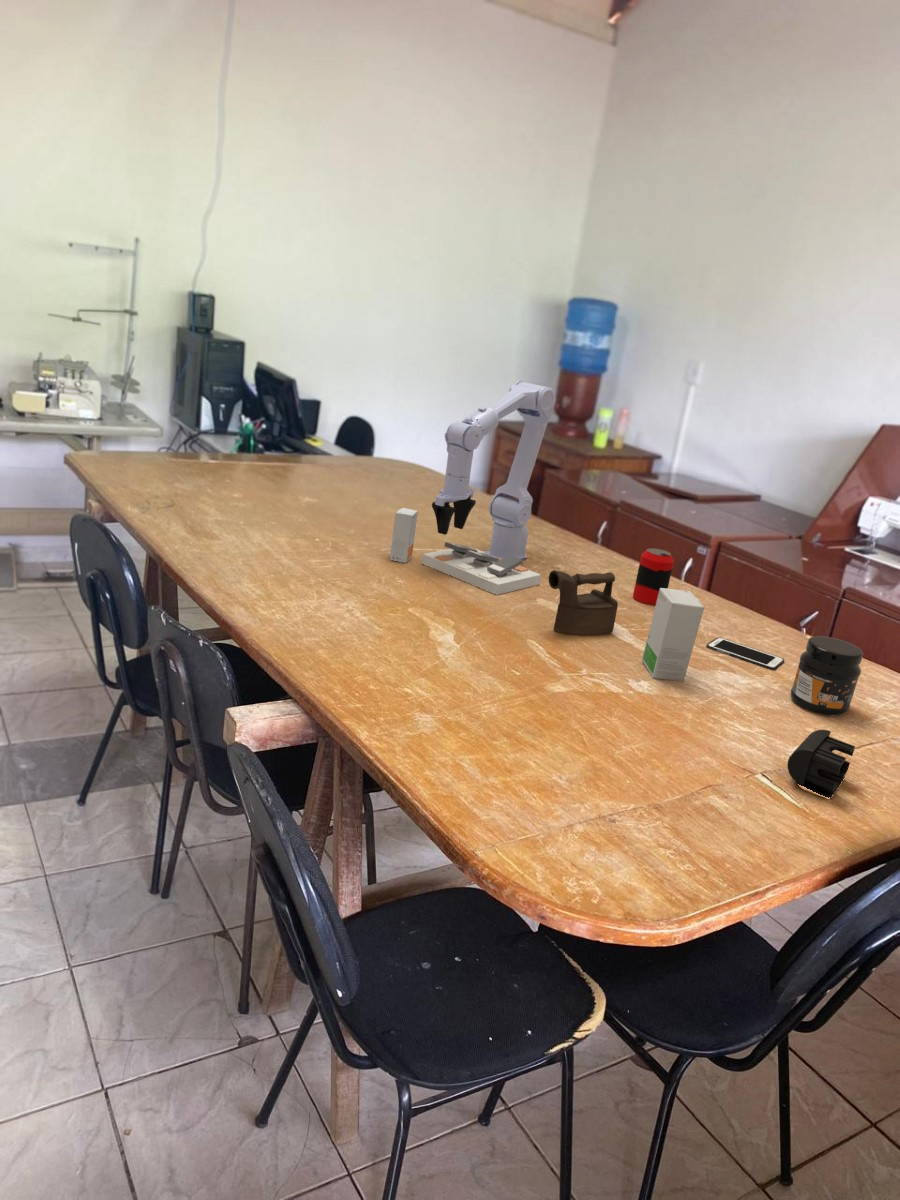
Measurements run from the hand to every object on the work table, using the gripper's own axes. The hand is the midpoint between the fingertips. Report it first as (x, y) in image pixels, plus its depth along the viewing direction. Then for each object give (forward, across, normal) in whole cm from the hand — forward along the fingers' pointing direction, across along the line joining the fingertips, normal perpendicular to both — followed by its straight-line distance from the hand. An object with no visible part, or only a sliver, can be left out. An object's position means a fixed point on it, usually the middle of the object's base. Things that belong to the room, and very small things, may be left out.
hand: (450, 530), depth 212 cm
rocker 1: (+5, -5, +1) cm, 7 cm away
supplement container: (+10, +12, +89) cm, 90 cm away
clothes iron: (+10, +12, +39) cm, 42 cm away
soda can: (+10, -21, +44) cm, 50 cm away
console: (+9, -3, +8) cm, 13 cm away
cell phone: (+10, -3, +71) cm, 72 cm away
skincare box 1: (+10, +3, -11) cm, 15 cm away
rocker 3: (+5, -2, +15) cm, 16 cm away
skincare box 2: (+10, +20, +61) cm, 65 cm away
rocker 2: (+5, -3, +8) cm, 10 cm away
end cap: (+10, +43, +93) cm, 103 cm away
